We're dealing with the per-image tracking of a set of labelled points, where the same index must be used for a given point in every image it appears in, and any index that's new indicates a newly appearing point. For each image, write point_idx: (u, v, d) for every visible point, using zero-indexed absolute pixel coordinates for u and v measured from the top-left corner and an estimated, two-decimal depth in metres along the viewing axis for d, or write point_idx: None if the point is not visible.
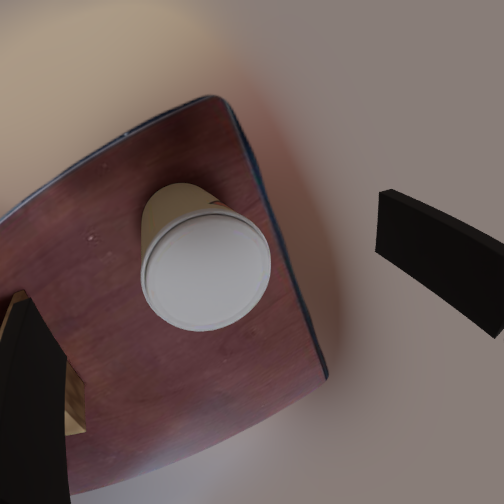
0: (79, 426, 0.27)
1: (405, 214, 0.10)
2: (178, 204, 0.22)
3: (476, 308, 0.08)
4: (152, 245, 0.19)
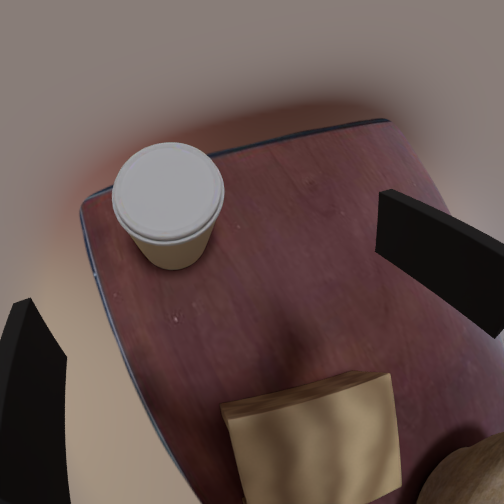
0: (379, 378, 0.26)
1: (405, 214, 0.10)
2: None
3: (476, 308, 0.08)
4: (127, 229, 0.23)
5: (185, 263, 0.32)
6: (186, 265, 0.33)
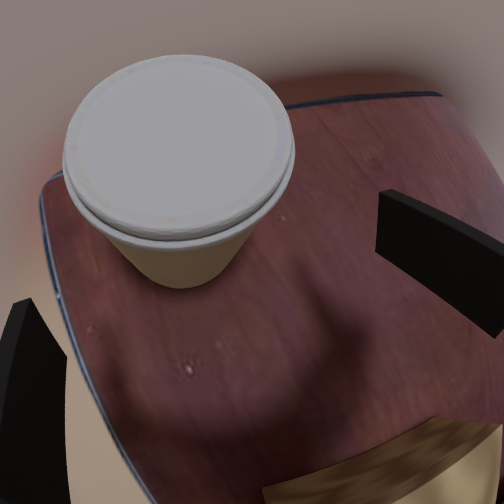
0: (492, 434, 0.13)
1: (405, 214, 0.10)
2: None
3: (476, 308, 0.08)
4: (87, 215, 0.09)
5: (204, 279, 0.18)
6: (205, 281, 0.20)
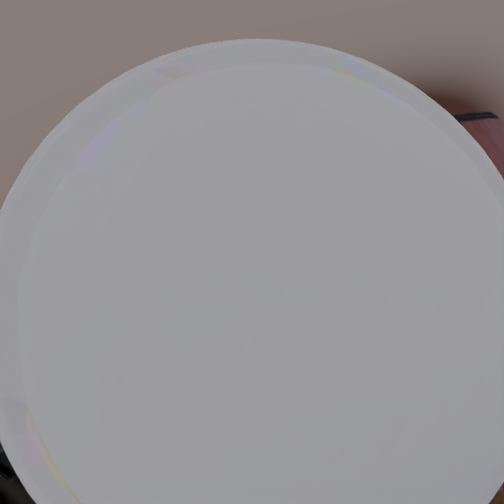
0: None
1: None
2: None
3: None
4: None
5: None
6: None
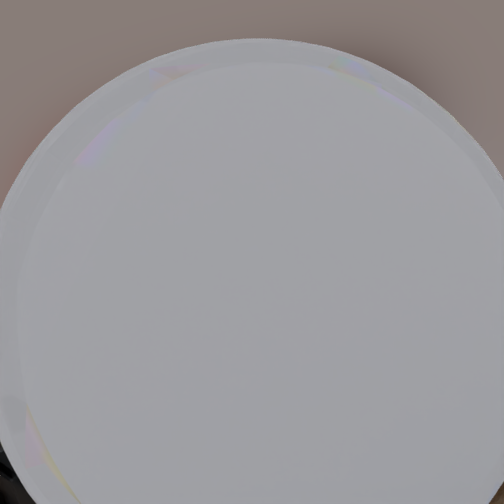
0: None
1: None
2: None
3: None
4: None
5: None
6: None
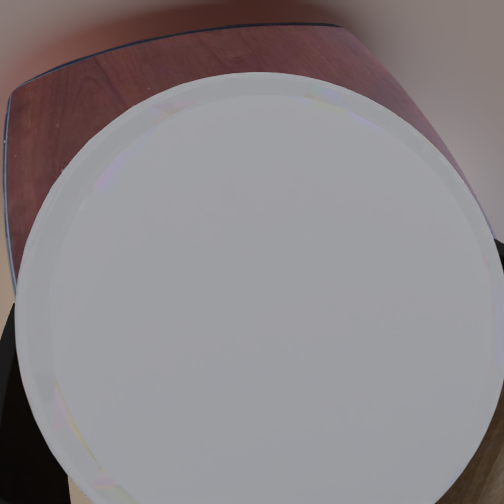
0: None
1: None
2: None
3: None
4: None
5: None
6: None
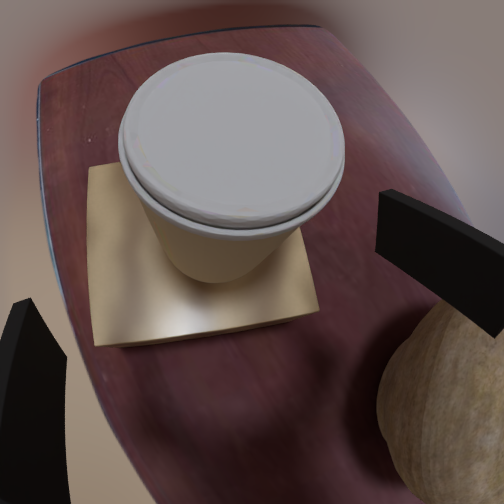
0: None
1: (405, 214, 0.10)
2: None
3: (476, 308, 0.08)
4: (151, 203, 0.10)
5: (243, 273, 0.19)
6: (241, 276, 0.20)
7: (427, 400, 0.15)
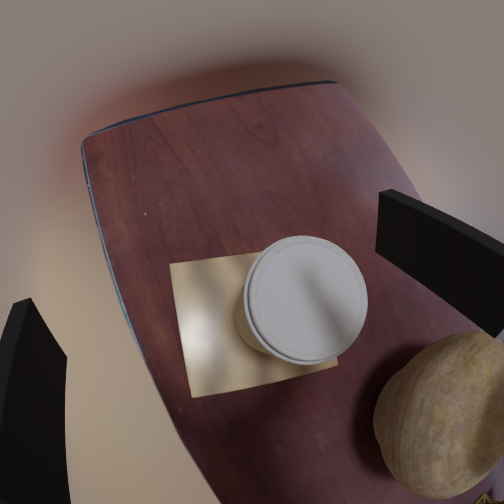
0: None
1: (405, 214, 0.10)
2: (243, 321, 0.23)
3: (476, 308, 0.08)
4: (272, 351, 0.20)
5: None
6: None
7: (404, 422, 0.25)
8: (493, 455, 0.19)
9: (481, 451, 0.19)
